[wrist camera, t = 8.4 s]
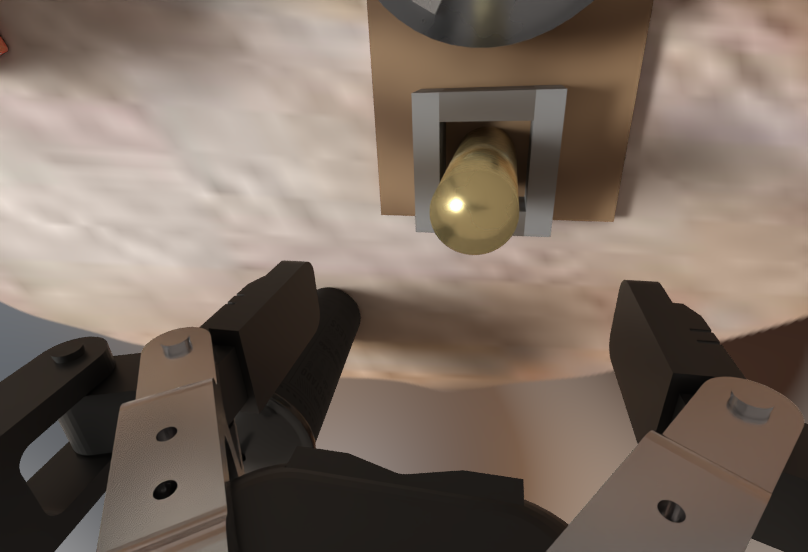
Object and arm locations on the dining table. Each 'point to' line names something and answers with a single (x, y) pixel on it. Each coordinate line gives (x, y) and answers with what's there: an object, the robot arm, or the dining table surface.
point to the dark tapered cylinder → (302, 389)
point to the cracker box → (2, 46)
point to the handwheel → (483, 19)
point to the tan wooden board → (511, 111)
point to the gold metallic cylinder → (478, 194)
